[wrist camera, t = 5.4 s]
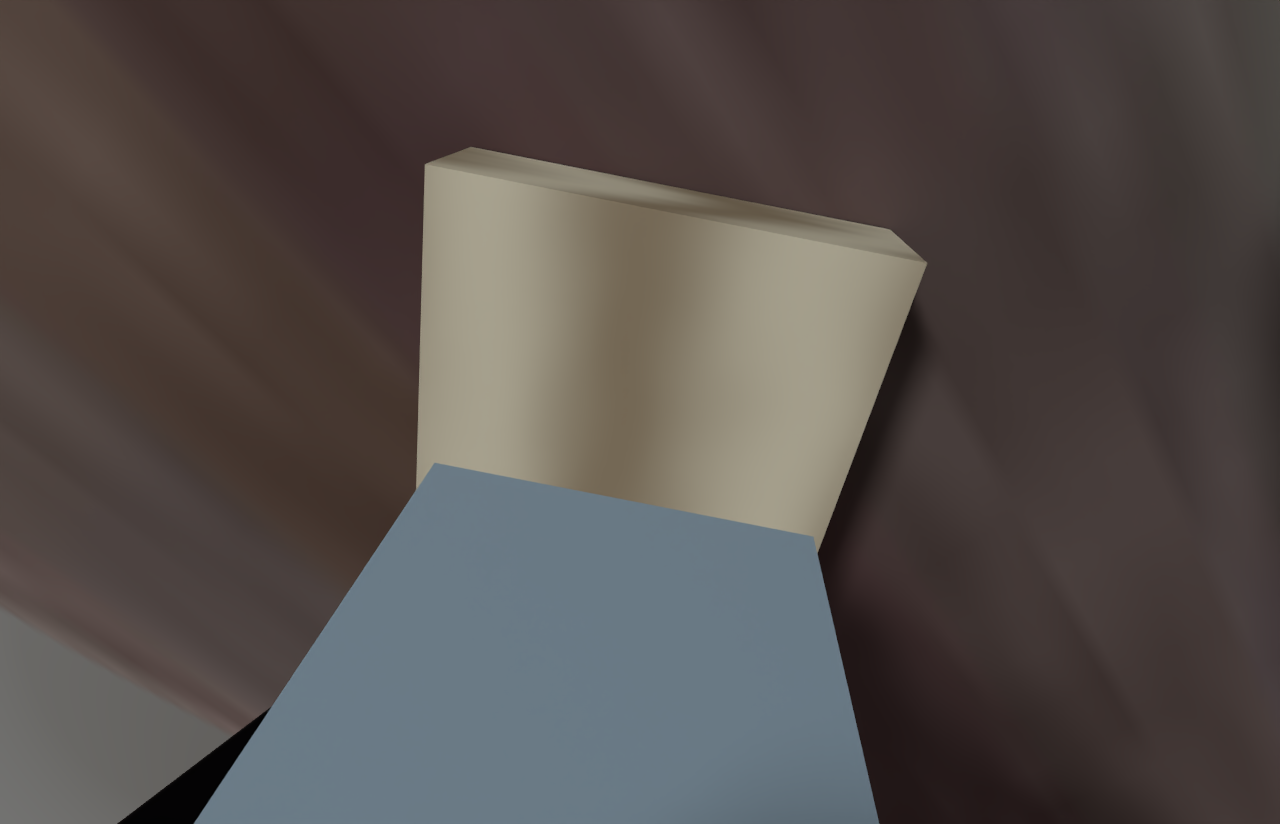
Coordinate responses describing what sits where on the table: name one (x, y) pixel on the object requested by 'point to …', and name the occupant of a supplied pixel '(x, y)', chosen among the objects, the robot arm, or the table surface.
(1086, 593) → the table surface
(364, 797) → the slate block
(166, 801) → the robot arm
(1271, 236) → the table surface
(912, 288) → the maple base
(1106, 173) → the table surface
